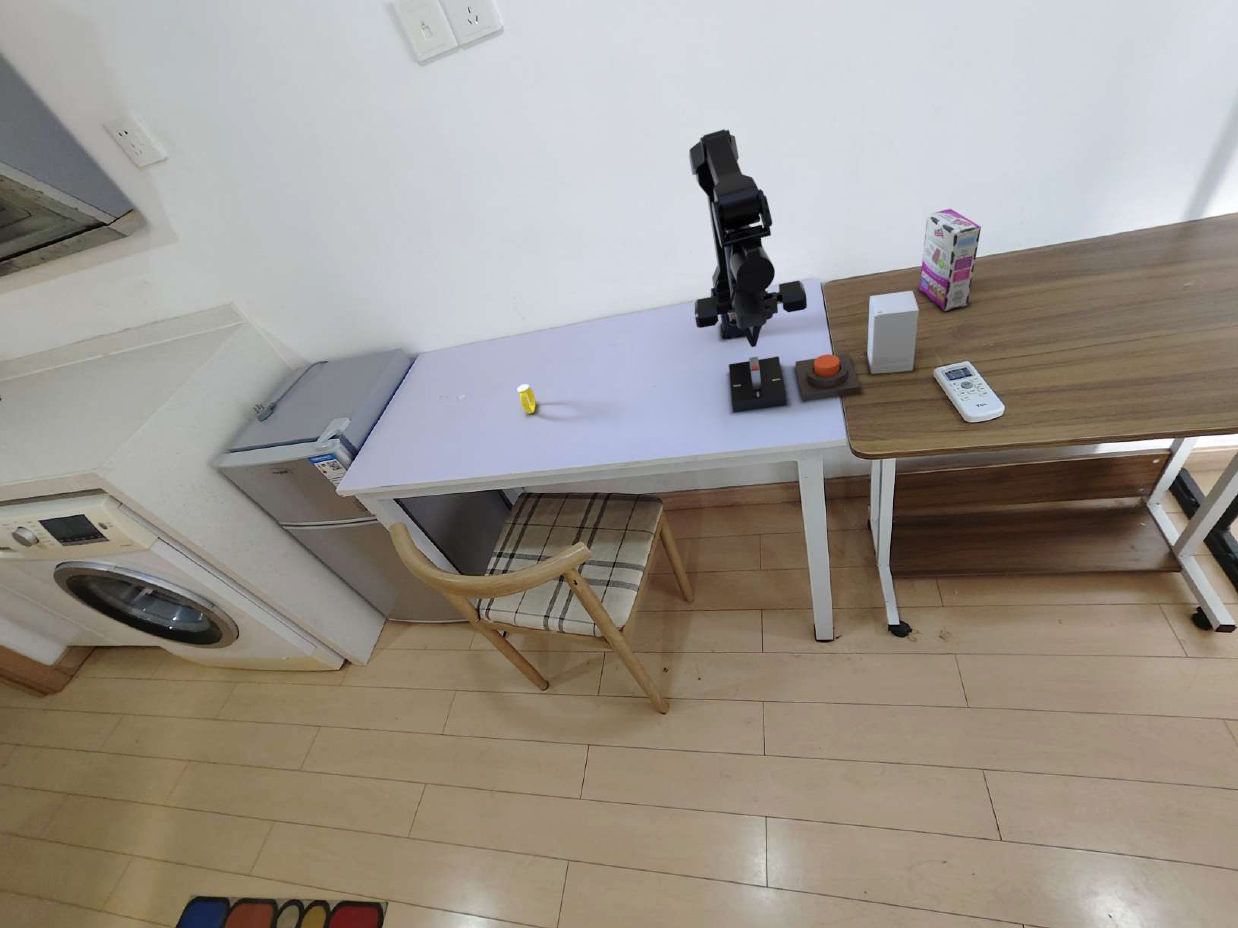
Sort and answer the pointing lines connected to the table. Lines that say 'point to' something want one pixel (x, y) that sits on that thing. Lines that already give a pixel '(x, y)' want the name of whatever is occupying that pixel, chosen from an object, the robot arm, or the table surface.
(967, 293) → the candy bar box
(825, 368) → the button
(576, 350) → the table surface
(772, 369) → the hob panel
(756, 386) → the burner knob
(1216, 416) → the table surface
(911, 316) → the white packaging box
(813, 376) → the brown button base
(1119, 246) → the table surface
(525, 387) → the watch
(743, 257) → the robot arm
